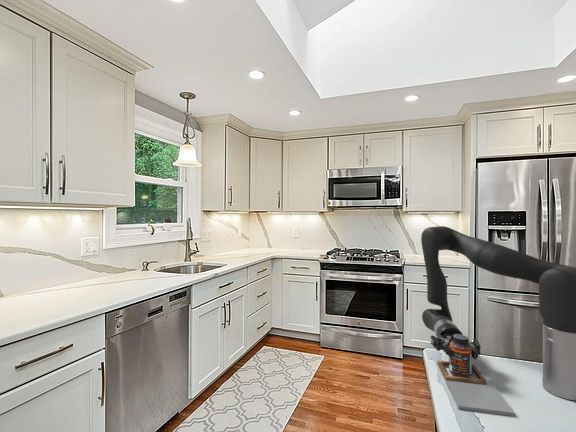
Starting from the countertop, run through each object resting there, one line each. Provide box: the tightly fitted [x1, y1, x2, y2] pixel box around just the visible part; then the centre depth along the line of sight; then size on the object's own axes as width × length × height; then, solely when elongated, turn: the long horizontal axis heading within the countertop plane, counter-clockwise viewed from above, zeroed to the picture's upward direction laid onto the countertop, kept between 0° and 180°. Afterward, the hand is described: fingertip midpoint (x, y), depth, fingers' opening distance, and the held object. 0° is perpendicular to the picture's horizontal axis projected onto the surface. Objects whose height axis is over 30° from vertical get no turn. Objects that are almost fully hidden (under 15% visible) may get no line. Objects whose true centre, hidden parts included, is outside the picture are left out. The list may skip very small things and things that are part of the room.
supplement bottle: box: [448, 334, 473, 378], centre depth 94 cm, size 6×6×11 cm
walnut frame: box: [436, 360, 488, 385], centre depth 94 cm, size 10×10×1 cm
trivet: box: [445, 381, 515, 417], centre depth 82 cm, size 12×12×1 cm
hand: (463, 354), depth 92 cm, fingers closed on supplement bottle, 6 cm apart
